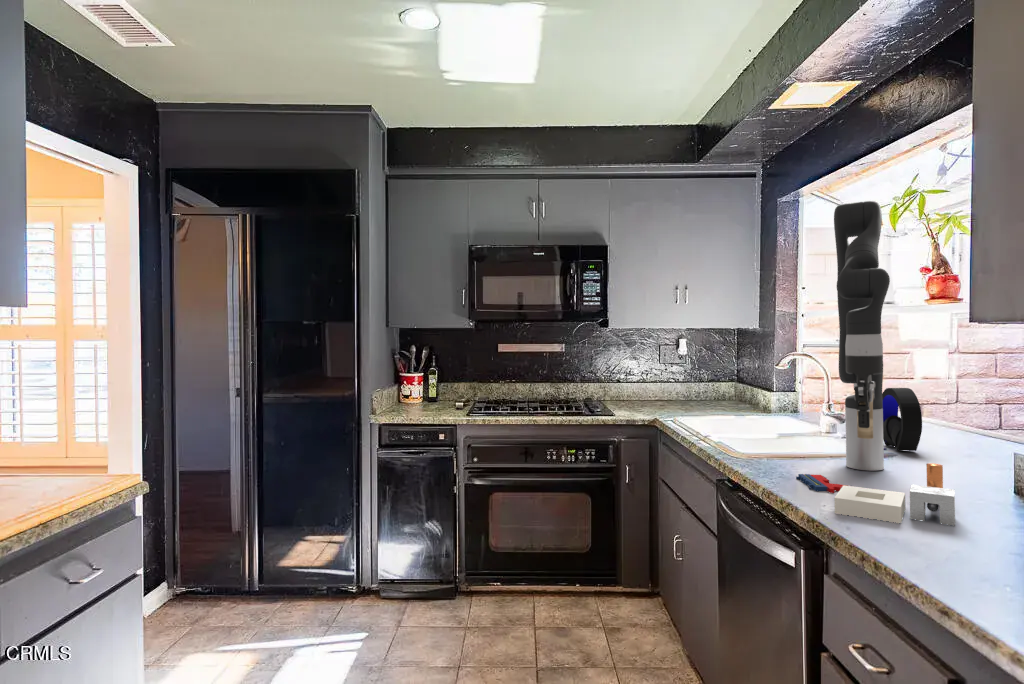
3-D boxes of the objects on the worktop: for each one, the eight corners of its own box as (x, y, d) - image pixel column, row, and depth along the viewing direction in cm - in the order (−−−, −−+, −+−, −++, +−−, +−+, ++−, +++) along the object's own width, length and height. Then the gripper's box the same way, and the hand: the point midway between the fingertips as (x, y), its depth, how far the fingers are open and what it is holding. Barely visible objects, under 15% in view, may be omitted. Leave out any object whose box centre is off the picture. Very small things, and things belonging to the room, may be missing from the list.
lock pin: (943, 498, 132) (942, 464, 132) (941, 516, 120) (941, 478, 120) (927, 496, 134) (926, 462, 134) (924, 514, 122) (923, 477, 122)
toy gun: (834, 480, 154) (794, 479, 155) (834, 474, 154) (794, 473, 155) (857, 495, 139) (813, 494, 141) (857, 489, 139) (813, 487, 141)
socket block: (843, 500, 134) (843, 485, 134) (905, 508, 127) (905, 492, 127) (834, 513, 125) (834, 497, 125) (901, 523, 117) (900, 506, 117)
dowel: (858, 435, 137) (857, 394, 137) (874, 436, 135) (873, 394, 135) (856, 437, 135) (855, 395, 134) (872, 439, 133) (871, 396, 133)
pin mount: (954, 518, 120) (954, 489, 120) (954, 526, 115) (954, 496, 115) (911, 512, 124) (911, 484, 124) (910, 519, 120) (909, 491, 120)
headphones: (925, 455, 177) (924, 391, 176) (901, 455, 178) (900, 391, 178) (898, 443, 195) (898, 385, 194) (877, 443, 196) (876, 385, 196)
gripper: (879, 355, 127) (880, 432, 127) (885, 352, 138) (887, 423, 138) (840, 355, 131) (842, 429, 132) (850, 352, 142) (851, 421, 143)
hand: (865, 426), depth 135 cm, fingers closed on dowel, 3 cm apart
